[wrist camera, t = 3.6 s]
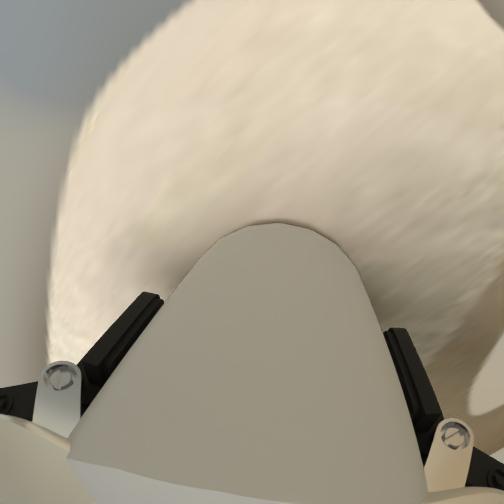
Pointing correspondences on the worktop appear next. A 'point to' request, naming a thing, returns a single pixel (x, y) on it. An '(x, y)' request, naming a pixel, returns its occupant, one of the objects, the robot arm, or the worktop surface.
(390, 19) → the worktop surface
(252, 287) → the can
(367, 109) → the worktop surface
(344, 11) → the worktop surface
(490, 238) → the worktop surface
